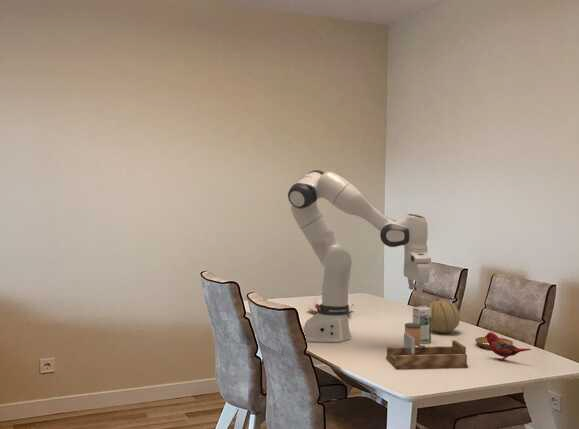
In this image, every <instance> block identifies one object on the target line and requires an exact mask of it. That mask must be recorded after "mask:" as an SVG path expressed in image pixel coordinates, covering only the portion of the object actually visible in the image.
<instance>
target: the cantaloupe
mask: <svg viewBox="0 0 579 429" xmlns="http://www.w3.org/2000/svg"><path fill="white" fill-rule="evenodd" d="M428 307H429V308H431V330H432V331H434V332H436V333H441V334H447V333H450V332H452V331H454V330H455V329H457V328H458V326H459V324H460V321H461V316H460V311H459V309H458V308H457V306H456V305H455V304H454V303H453V302H452V301H450V300H447V299H440V298H436V299H435V301H433V302H432V303H431V304H430V305H429V306H428Z"/></svg>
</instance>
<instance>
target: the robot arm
mask: <svg viewBox="0 0 579 429" xmlns="http://www.w3.org/2000/svg"><path fill="white" fill-rule="evenodd" d="M287 198H288V201H289V203H290V205H291V206H290V210H291V214H292V215H293V216H292V217H293V218H294V220H295V222H296V224H297V225H298V227H299V229H300V230H301V232H302V234H303V235H304V236H305V237H306V238H305V239H307V241H308V243H309V245H310V247H312V250H313V251H314V253H315V255H316V257H317V258H318V260H319V262H320V263H321V265H322V266H323V267H324V273H323V280H322V284H321V286H322V287H321V295H322V304H321V305H319V304H316V305H315V308H316V309H317V312H316V313H315V314H314V315H312V317H311V316H310V318H309V319H307V320H305V323H304V326H303V331H304V333H305V336H306V340H307V341H306V343H308V342H311V343H313V342H314V343H315V342H316V343H342V342H344V341H349V340H351V338H352V335H351V331H350V325H349V317H350V309H349V305H348V301H349V285H350V284H349V282H350V278H351V277H350V276H351V268H352V257H351V254H350V253H349V251H348V250H346V249H345V248H343V247H342V246H341V244H340V242H339V240H338V239H337V237H336V236H335V233H334V231H333V229H332V227H331V226H330V224H329V223H328V221H327V219H326V217H325V216H324V215H323V213H322V212H321V210H320V209H319V207H318V204H317V201H318V200H319V199H321V198H322V199H325V200H327V201H328V202H329V203H330V204H331V205H332V206H334V207H336V208H337V209H338V210H340V211H341V212H344V213H345V214H348V215H353V216H355V217H360V218H362V219H364V220H365V221H367V222H368V223H369V224H370V225H372V226H373V227H374V228H376V229H377V230H378V231H379V232H380V233H379V237H380V240H381V242H382V243H383V244H384V245H385V246H387V247H388V248H389V247H390V248H396V247H397V248H398V247H400V246H403V247H404V253H403V254H404V255H403V256H404V259H403V275H404V277H405V278H407V283H408V289H409V290H411V291H412V290H414V289H415V285H414V281H415V282H417V288H416V293H417V294H423V289H424V286H425V284H426V283H429V281H430V272H431V270H430V269H431V266H430V265H431V264H430V263H432V257H431V255H430V254H429V253H428V244H427V240H428V238H429V237H428V233H429V232H428V222H427V219H426V217H424V216H422V215H418V214H413V213H408V214H406V215H405V216H403V217H402V218H400V219H399V218H398V219H397V220H396V219H395V220H394V219H391V218H389V217H388V216H386V215H385V214H384V213H383V212H381V211H380V210H379V209H378V208H376V207H375V206H373V204H371V203H370V202H369V201H368V200H367V198H366V197H365V195H363V194H362V192H360V190H359V189H357V187H355V185H353V184H352V183H351V182H349V180H347V179H345V177H342V176H341V175H338V174H337V173H336V172H333V171H325V172H324V171H322V170H320V169H318V170H316V169H315V170H312V171H309V172H308V173H306V174H305V175H303V176H301V177H300V179H299V180H298V181H296V182H295V183H294V184H293V185H292V186H291V187H290V189H289V190H288V192H287Z"/></svg>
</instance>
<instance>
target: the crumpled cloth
mask: <svg viewBox="0 0 579 429" xmlns="http://www.w3.org/2000/svg"><path fill="white" fill-rule="evenodd" d="M316 304H319V305H321V304H322V294H320V295H317V296H316V297H315V299H314V300H313V301H312V302H311V303H310V304H308V305H307V309H308V310H309V311H314V312H316V313H318V312H317V309H316V308H315V305H316ZM348 305H349V310H350V309H352V307H354V305H355V304H354V303H353V302H352V301H350V300H348Z"/></svg>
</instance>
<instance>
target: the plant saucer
mask: <svg viewBox="0 0 579 429" xmlns="http://www.w3.org/2000/svg"><path fill="white" fill-rule="evenodd" d="M499 338H500V339H501V340H503V341H505V342H508V343H510V344H512V345H513V344H514V342H513V341H512V340H511V339H507V338H505V337H504V338H503V337H499ZM474 340H475V343H476V344H477V345H478V346H479V347H480V346H481V347H480V348H482V347H483V349H485V348H487V349H486V350H491V348H490V346H489V345H488V344H485V343H488V341H487V338H486V337H485V336H480V337H476V338H475V339H474ZM483 343H484V344H483Z"/></svg>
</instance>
